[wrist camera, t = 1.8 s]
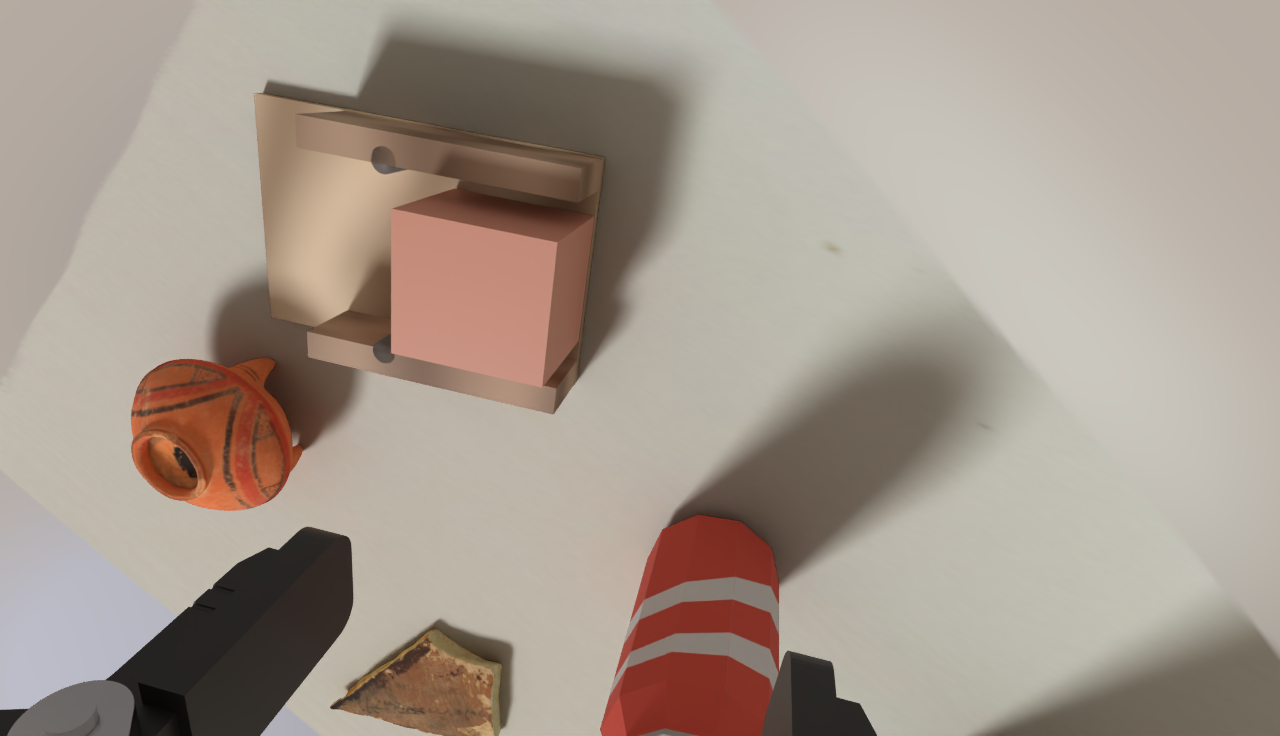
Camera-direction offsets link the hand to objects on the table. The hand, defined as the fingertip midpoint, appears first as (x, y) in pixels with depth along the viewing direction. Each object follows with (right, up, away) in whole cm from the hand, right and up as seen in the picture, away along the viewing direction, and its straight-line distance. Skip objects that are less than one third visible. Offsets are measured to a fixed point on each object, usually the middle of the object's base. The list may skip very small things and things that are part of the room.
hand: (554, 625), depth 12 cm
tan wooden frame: (-7, +10, +18) cm, 22 cm away
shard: (-11, -15, +30) cm, 35 cm away
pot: (-18, +3, +23) cm, 30 cm away
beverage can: (+5, -5, +21) cm, 23 cm away
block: (-4, +9, +17) cm, 19 cm away
